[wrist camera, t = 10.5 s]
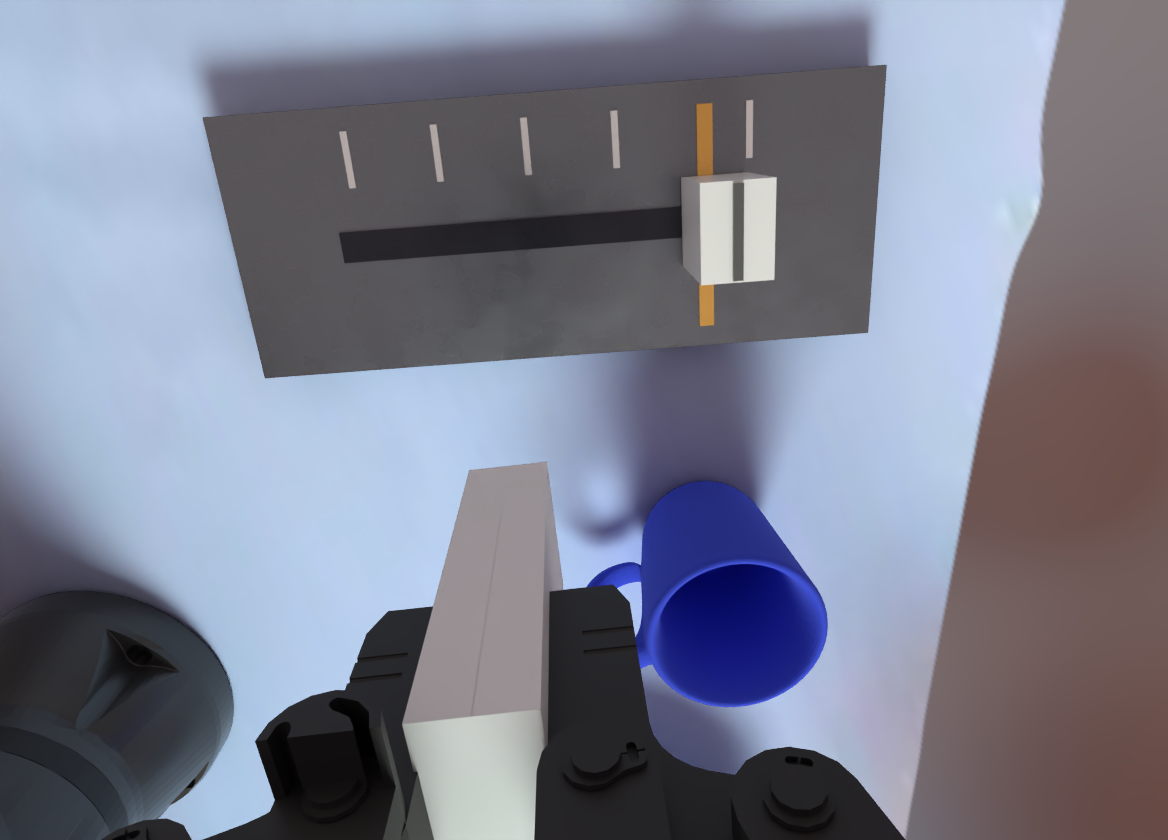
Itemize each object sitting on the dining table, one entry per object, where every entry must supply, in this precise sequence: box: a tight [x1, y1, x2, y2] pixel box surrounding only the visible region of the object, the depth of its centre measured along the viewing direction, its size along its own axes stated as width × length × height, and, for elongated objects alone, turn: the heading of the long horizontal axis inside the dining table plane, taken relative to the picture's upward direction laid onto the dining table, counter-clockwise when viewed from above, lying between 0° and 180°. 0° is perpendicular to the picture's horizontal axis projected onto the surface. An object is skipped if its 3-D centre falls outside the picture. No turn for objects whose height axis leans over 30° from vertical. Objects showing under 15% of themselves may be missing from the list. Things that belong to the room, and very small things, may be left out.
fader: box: [681, 172, 777, 285], centre depth 31 cm, size 3×4×5 cm
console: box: [203, 65, 887, 378], centre depth 35 cm, size 30×12×2 cm, turn 94°
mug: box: [587, 481, 828, 707], centre depth 38 cm, size 8×12×10 cm
